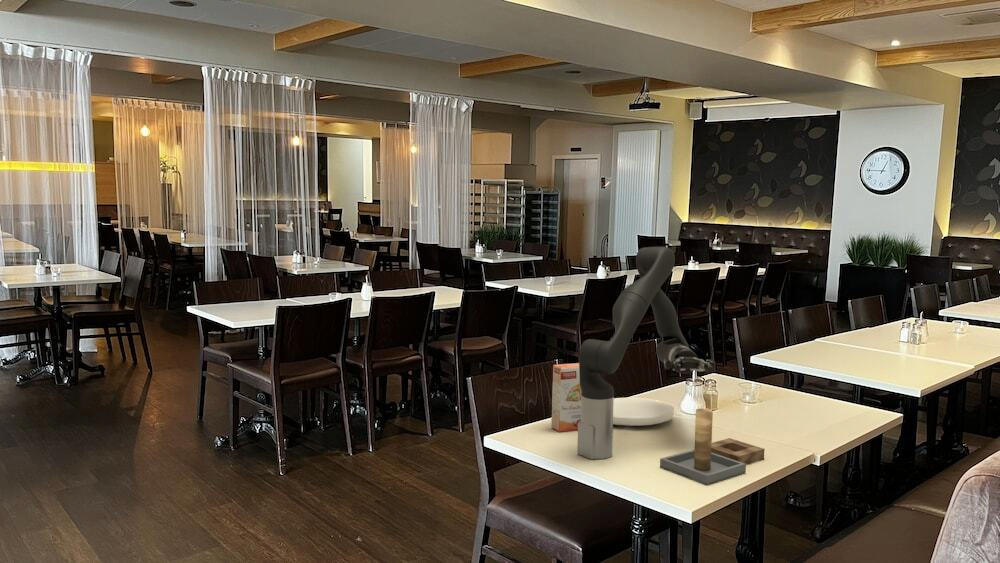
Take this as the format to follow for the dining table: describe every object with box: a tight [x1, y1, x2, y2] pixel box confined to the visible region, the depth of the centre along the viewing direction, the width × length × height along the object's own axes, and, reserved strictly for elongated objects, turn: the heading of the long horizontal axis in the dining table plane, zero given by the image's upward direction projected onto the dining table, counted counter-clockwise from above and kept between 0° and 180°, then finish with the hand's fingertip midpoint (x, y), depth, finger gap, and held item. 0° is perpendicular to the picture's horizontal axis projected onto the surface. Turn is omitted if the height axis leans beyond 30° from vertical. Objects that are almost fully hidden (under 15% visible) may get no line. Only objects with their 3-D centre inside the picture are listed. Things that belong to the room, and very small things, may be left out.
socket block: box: [711, 437, 765, 466], centre depth 213 cm, size 12×12×3 cm
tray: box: [659, 448, 747, 486], centre depth 202 cm, size 16×16×2 cm
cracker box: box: [551, 362, 581, 433], centre depth 239 cm, size 14×6×21 cm, turn 114°
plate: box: [613, 397, 675, 427], centre depth 251 cm, size 28×6×27 cm
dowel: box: [694, 408, 714, 471], centre depth 202 cm, size 4×4×16 cm
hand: (694, 369), depth 212 cm, fingers open, 8 cm apart
